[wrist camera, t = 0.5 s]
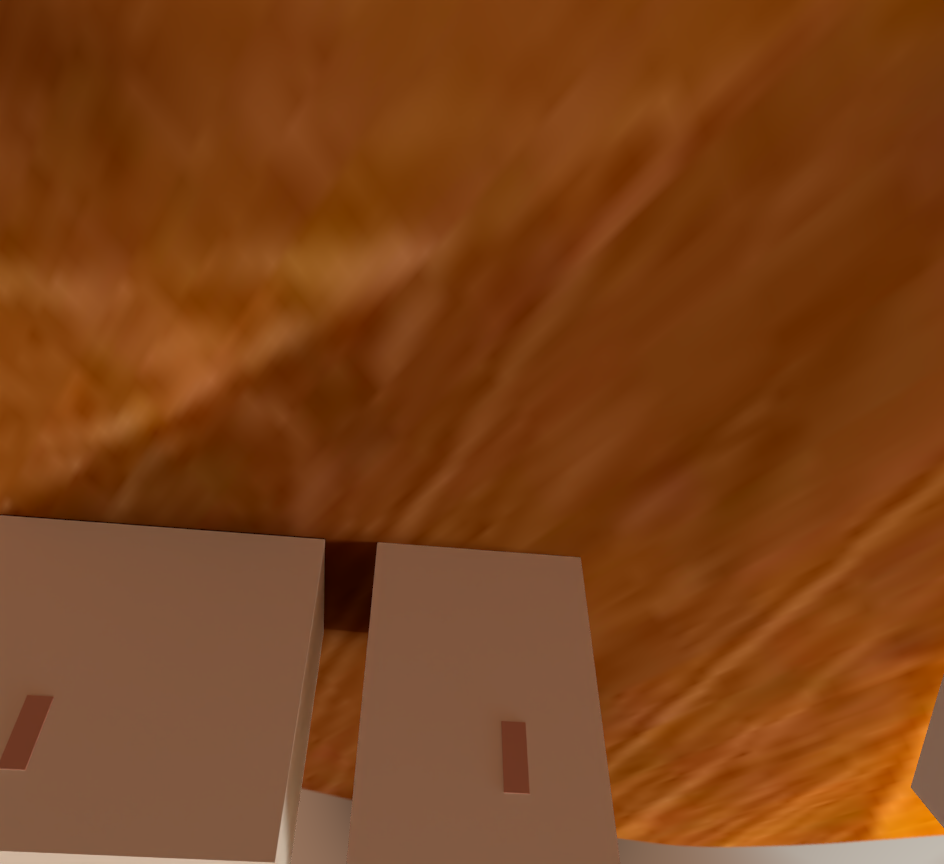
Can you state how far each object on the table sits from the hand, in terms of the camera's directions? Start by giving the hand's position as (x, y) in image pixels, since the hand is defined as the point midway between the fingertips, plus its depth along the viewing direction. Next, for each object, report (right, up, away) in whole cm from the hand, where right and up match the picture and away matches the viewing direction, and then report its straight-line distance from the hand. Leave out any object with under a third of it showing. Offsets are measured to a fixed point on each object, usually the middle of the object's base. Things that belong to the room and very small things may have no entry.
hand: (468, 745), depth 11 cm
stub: (0, -3, +25) cm, 25 cm away
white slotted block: (-12, -2, +24) cm, 27 cm away
